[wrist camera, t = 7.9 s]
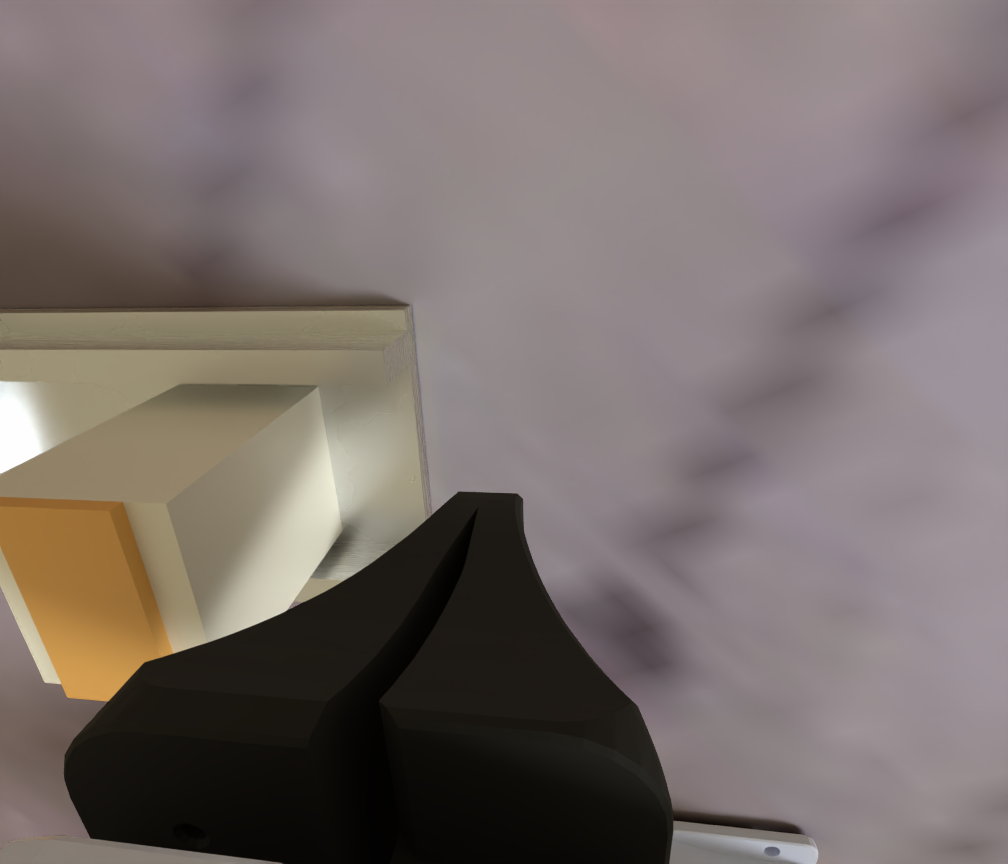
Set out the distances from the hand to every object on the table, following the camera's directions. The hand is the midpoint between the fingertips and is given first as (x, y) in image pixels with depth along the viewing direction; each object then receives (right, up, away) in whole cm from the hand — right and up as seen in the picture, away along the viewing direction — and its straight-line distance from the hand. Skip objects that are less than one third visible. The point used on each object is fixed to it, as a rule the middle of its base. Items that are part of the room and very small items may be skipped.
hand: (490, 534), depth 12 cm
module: (-6, +1, +4) cm, 8 cm away
